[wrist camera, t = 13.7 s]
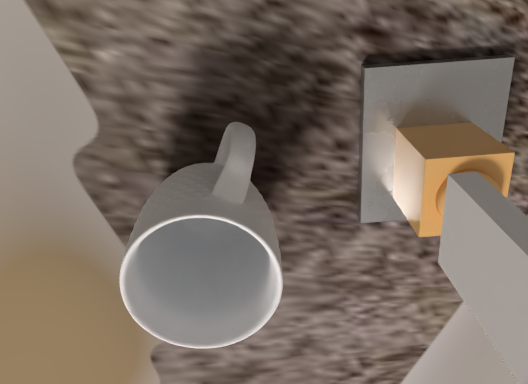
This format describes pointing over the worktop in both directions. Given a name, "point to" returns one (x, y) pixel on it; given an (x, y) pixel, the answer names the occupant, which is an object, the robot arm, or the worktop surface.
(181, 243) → the mug
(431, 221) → the cube with dome top
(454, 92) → the plate with brass peg
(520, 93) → the worktop surface
